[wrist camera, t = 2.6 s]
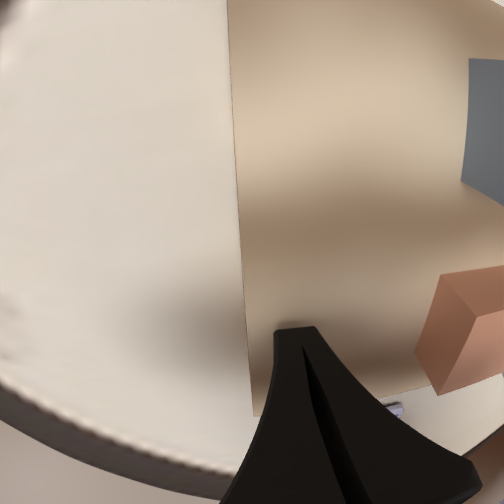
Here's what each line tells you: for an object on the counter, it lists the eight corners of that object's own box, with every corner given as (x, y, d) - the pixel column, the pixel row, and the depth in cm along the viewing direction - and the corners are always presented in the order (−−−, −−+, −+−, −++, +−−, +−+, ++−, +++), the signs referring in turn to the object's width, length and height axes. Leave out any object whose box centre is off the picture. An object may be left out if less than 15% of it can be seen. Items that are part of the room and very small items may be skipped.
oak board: (475, 336, 16) (494, 363, 14) (250, 376, 16) (253, 416, 13) (533, 45, 8) (570, 49, 6) (225, -24, 7) (225, -53, 5)
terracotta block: (479, 335, 12) (504, 371, 10) (413, 352, 12) (437, 396, 10) (508, 264, 10) (543, 297, 8) (440, 274, 10) (476, 317, 8)
